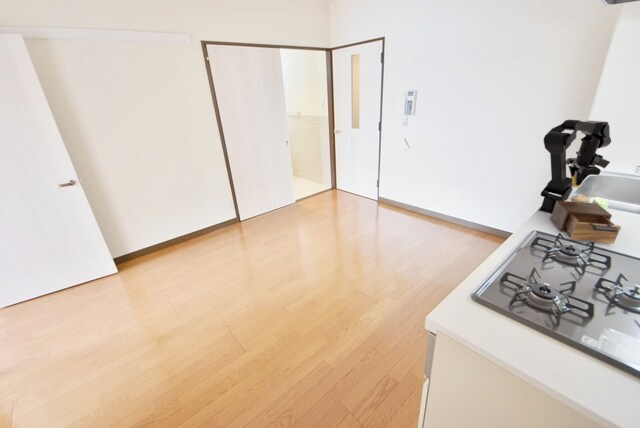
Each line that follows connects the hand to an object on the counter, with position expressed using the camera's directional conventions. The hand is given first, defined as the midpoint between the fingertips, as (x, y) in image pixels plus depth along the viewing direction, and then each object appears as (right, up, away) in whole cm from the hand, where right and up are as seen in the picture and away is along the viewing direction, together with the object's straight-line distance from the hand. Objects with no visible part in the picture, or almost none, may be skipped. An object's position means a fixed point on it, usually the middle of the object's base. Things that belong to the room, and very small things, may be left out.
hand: (575, 183), depth 130 cm
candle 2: (+1, -15, -8) cm, 18 cm away
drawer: (-18, -23, -25) cm, 38 cm away
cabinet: (-14, -19, -15) cm, 28 cm away
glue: (0, -1, 0) cm, 1 cm away
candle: (-7, -15, -7) cm, 18 cm away
